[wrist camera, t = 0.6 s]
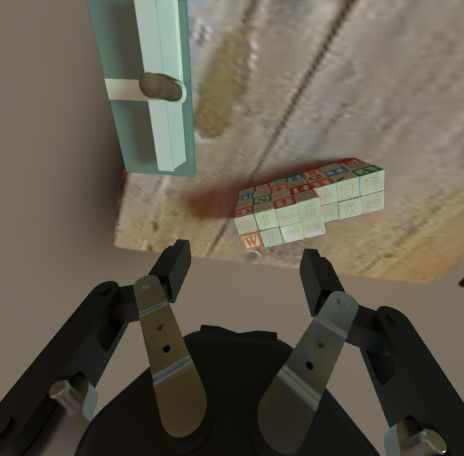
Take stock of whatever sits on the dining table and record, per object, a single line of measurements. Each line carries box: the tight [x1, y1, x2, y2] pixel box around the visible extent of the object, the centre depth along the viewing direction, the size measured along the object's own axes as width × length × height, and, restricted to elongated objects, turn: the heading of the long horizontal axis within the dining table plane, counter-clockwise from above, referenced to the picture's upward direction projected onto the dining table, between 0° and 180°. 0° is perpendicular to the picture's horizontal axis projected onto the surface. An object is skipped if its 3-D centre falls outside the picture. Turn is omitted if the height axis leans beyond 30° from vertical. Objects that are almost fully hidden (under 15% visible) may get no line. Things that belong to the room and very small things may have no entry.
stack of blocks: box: [234, 158, 384, 251], centre depth 33 cm, size 21×6×12 cm, turn 109°
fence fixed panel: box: [134, 0, 181, 81], centre depth 25 cm, size 9×2×7 cm, turn 178°
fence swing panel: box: [148, 100, 186, 171], centre depth 31 cm, size 9×2×7 cm, turn 178°
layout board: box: [86, 0, 196, 177], centre depth 32 cm, size 27×14×1 cm, turn 178°
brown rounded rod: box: [139, 72, 183, 101], centre depth 27 cm, size 3×3×10 cm
